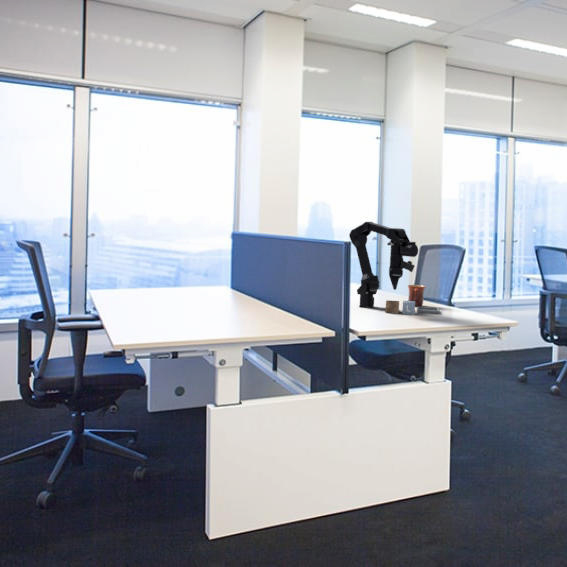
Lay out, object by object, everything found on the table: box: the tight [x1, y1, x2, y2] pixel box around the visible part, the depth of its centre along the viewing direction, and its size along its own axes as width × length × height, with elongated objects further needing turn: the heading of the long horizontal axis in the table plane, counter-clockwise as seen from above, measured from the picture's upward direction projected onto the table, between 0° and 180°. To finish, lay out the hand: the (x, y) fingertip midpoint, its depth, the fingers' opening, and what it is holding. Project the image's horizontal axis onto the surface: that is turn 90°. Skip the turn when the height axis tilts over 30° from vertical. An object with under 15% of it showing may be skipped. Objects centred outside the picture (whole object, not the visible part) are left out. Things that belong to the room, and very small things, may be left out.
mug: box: [407, 284, 426, 308], centre depth 300 cm, size 12×9×10 cm
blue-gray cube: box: [401, 300, 416, 315], centre depth 277 cm, size 6×6×6 cm
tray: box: [416, 306, 440, 315], centre depth 283 cm, size 10×10×2 cm
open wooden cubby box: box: [385, 299, 400, 314], centre depth 279 cm, size 6×6×5 cm
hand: (394, 288), depth 279 cm, fingers open, 9 cm apart
